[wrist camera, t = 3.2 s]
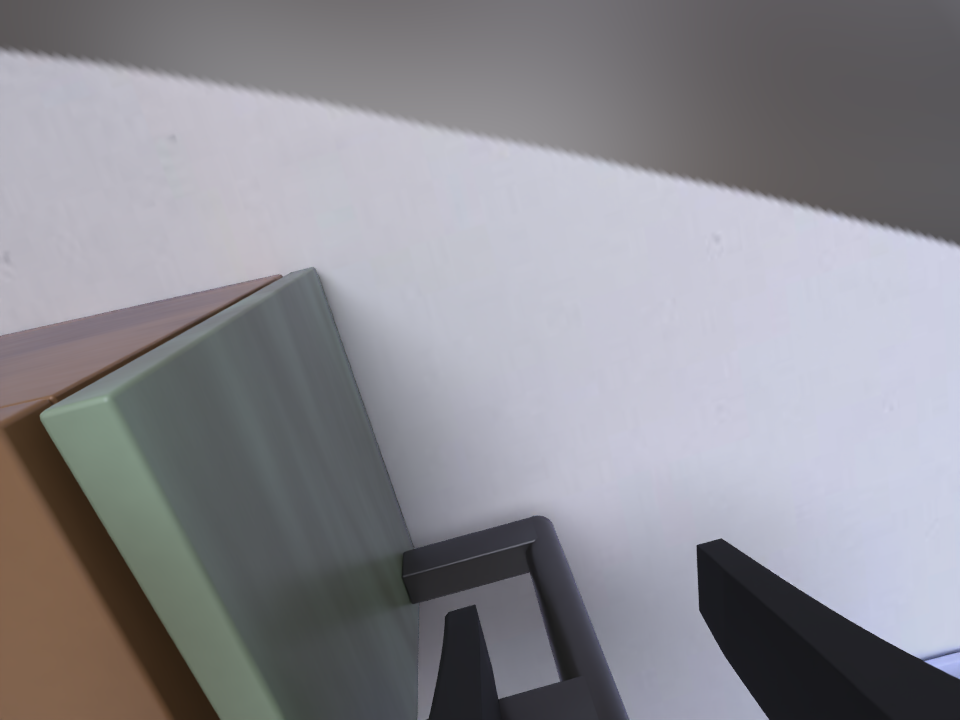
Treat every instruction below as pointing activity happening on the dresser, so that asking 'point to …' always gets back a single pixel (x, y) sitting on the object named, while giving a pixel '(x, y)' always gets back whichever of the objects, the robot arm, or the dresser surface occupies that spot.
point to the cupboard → (81, 535)
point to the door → (294, 524)
